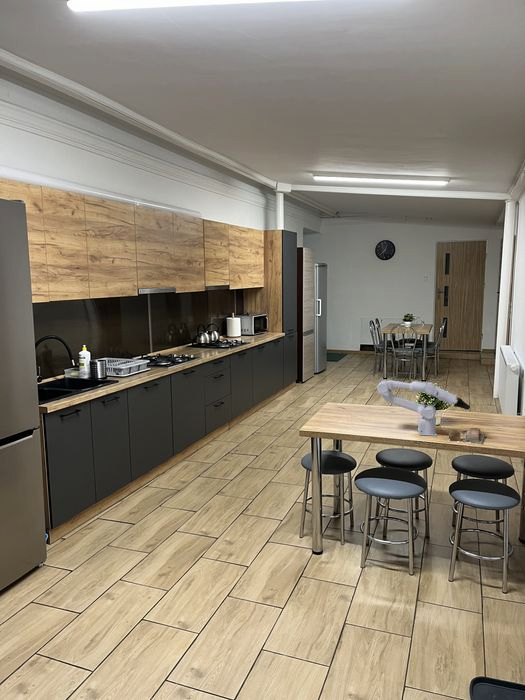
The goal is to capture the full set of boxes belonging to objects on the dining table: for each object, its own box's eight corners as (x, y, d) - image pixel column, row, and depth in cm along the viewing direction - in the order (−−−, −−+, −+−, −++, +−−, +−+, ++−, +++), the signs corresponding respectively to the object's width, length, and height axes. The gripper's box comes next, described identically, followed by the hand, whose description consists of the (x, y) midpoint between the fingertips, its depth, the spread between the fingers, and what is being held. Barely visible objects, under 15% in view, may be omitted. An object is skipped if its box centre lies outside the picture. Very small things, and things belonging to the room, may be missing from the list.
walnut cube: (450, 441, 292) (450, 432, 292) (448, 438, 297) (449, 429, 297) (460, 441, 292) (460, 432, 291) (458, 439, 297) (458, 430, 296)
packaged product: (482, 436, 286) (462, 434, 290) (482, 445, 287) (462, 443, 291) (484, 427, 302) (465, 425, 306) (484, 436, 303) (465, 434, 307)
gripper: (449, 389, 293) (473, 401, 290) (447, 389, 307) (470, 401, 303) (443, 401, 294) (467, 413, 290) (441, 400, 308) (464, 412, 304)
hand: (468, 408), depth 297 cm, fingers open, 7 cm apart
